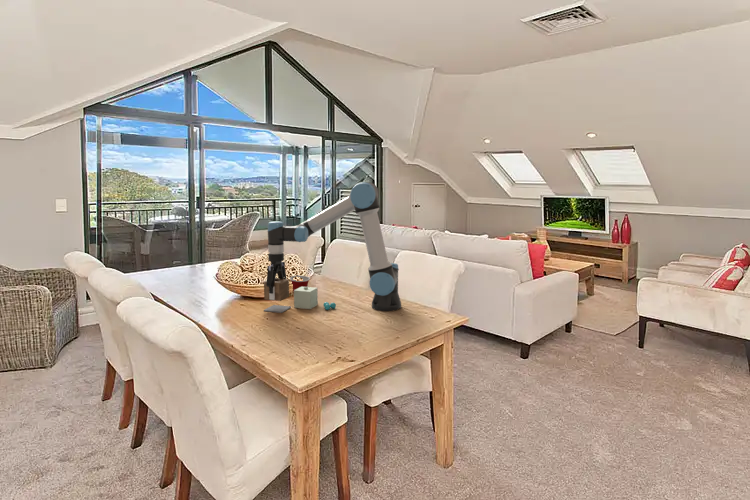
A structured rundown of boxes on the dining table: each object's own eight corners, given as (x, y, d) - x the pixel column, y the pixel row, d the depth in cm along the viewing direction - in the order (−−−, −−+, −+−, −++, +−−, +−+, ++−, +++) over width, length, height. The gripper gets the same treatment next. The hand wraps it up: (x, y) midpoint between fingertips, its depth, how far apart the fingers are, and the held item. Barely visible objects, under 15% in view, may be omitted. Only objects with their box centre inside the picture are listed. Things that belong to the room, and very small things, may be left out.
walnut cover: (289, 296, 241) (288, 277, 240) (280, 300, 233) (280, 281, 231) (273, 295, 244) (272, 275, 242) (264, 299, 235) (263, 279, 234)
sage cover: (317, 304, 248) (317, 285, 247) (310, 309, 240) (310, 289, 238) (301, 303, 251) (301, 284, 249) (294, 307, 242) (293, 288, 241)
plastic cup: (296, 302, 252) (296, 280, 250) (286, 298, 260) (286, 277, 258) (314, 299, 258) (313, 277, 257) (304, 295, 267) (303, 274, 265)
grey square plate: (291, 307, 242) (291, 306, 242) (281, 313, 233) (281, 311, 233) (273, 305, 245) (273, 304, 245) (263, 311, 236) (263, 310, 236)
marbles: (336, 307, 242) (336, 302, 242) (332, 311, 237) (332, 305, 236) (304, 304, 247) (304, 299, 247) (299, 308, 242) (299, 302, 241)
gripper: (279, 249, 246) (280, 291, 249) (257, 255, 225) (259, 301, 229) (292, 250, 244) (293, 292, 247) (272, 256, 223) (273, 303, 227)
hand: (277, 297), depth 238 cm, fingers closed on walnut cover, 9 cm apart
